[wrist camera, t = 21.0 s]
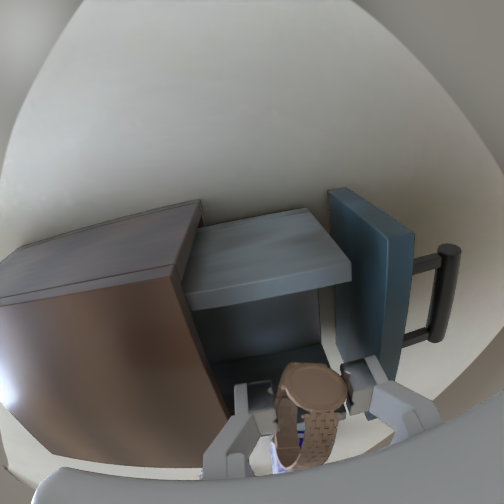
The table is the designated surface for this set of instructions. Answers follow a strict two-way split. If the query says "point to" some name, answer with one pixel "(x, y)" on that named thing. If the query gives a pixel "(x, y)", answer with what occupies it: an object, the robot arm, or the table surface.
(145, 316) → the drawer casing
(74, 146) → the table surface
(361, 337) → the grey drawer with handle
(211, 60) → the table surface
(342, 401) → the beige wristwatch
